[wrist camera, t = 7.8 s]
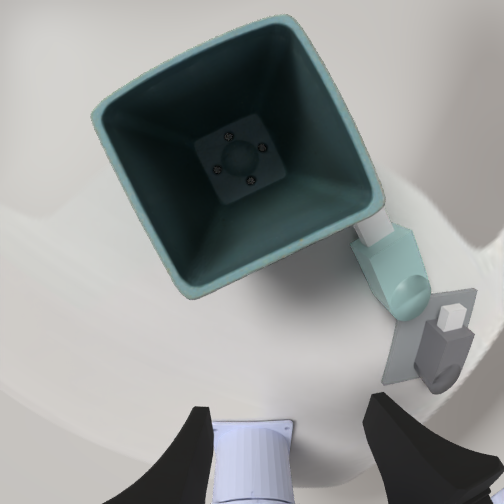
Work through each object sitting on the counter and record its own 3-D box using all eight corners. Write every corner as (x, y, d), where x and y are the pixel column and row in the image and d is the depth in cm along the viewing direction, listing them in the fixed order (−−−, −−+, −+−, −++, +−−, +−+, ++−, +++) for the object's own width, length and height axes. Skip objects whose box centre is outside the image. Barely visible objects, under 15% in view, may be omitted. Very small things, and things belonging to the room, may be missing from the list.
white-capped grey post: (436, 368, 22) (453, 389, 19) (409, 375, 22) (425, 398, 19) (457, 298, 20) (480, 315, 17) (430, 302, 20) (453, 321, 17)
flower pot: (329, 191, 19) (392, 208, 10) (212, 247, 20) (185, 306, 11) (272, 76, 16) (290, 8, 8) (154, 134, 17) (86, 111, 9)
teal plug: (412, 285, 21) (435, 303, 17) (378, 307, 21) (397, 329, 18) (377, 198, 19) (401, 204, 15) (338, 222, 19) (357, 233, 16)
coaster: (450, 364, 23) (453, 367, 23) (381, 381, 23) (383, 385, 23) (473, 288, 21) (477, 290, 20) (401, 297, 21) (404, 300, 20)
